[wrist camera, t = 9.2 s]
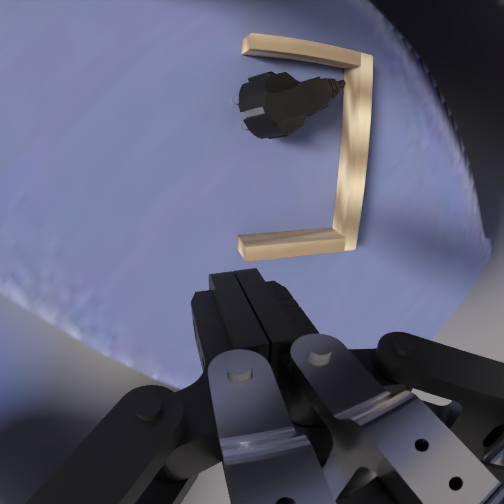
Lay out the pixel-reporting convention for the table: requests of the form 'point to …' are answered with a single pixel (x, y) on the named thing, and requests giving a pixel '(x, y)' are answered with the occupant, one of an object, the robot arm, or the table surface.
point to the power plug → (282, 102)
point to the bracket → (351, 150)
